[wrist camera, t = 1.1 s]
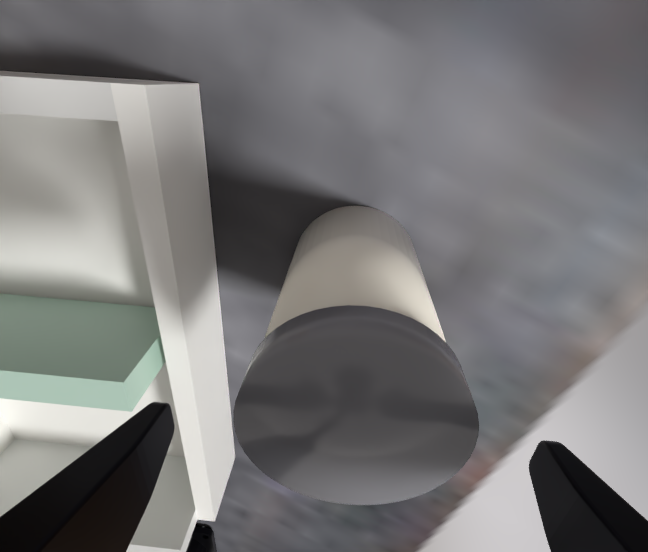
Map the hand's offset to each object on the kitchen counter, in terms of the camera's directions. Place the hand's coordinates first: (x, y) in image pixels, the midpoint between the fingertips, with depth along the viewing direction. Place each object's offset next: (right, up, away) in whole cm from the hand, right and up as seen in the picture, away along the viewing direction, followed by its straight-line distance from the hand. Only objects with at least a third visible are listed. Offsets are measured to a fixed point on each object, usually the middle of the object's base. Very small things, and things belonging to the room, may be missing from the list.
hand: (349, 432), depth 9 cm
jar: (+1, +4, +8) cm, 9 cm away
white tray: (-13, +2, +10) cm, 17 cm away
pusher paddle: (-13, +1, +9) cm, 16 cm away
